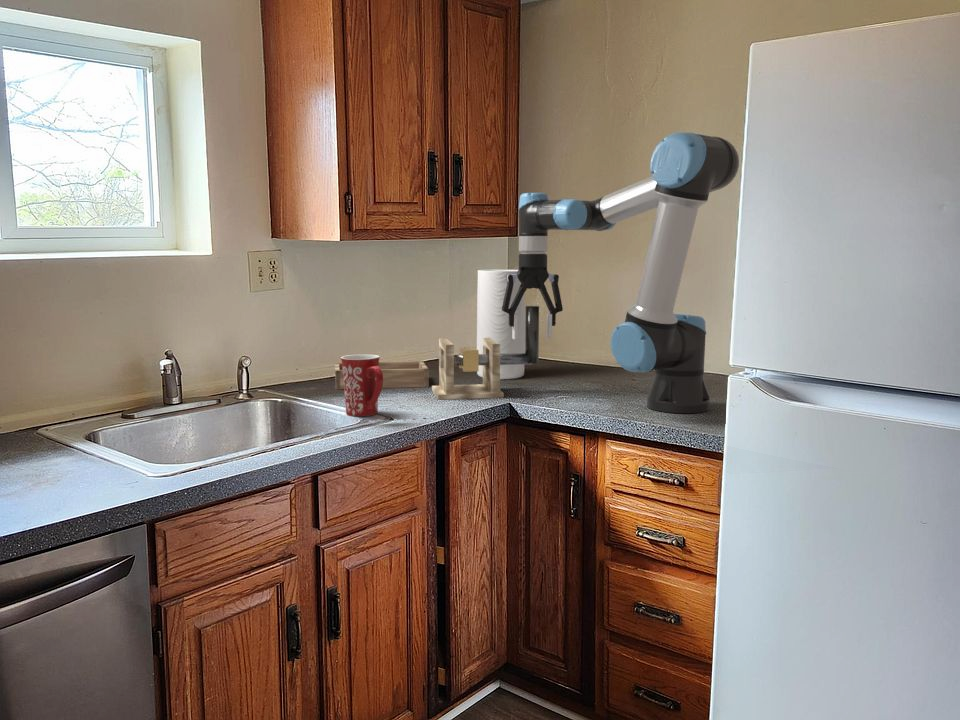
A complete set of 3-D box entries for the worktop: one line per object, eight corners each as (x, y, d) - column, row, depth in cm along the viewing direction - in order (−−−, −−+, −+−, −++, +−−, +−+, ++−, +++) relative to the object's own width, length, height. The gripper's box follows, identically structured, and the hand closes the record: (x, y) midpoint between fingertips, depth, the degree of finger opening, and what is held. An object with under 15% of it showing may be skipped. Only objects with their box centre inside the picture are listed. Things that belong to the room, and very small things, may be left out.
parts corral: (428, 386, 234) (428, 368, 233) (335, 389, 229) (335, 371, 229) (422, 377, 249) (422, 361, 248) (335, 380, 244) (334, 363, 244)
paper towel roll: (511, 381, 242) (512, 271, 238) (468, 377, 249) (468, 270, 245) (532, 374, 255) (533, 270, 251) (490, 371, 262) (490, 269, 257)
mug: (334, 412, 198) (333, 356, 196) (368, 408, 204) (367, 352, 202) (362, 421, 188) (361, 362, 186) (396, 416, 194) (395, 358, 192)
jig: (493, 388, 232) (493, 337, 230) (503, 397, 218) (504, 343, 216) (431, 390, 229) (431, 338, 227) (438, 399, 215) (438, 345, 213)
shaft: (536, 363, 227) (537, 305, 225) (539, 365, 224) (540, 306, 222) (441, 365, 223) (441, 306, 221) (443, 367, 219) (443, 307, 217)
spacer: (478, 371, 219) (478, 350, 219) (463, 371, 219) (463, 350, 218) (474, 367, 226) (474, 347, 225) (459, 367, 225) (459, 347, 225)
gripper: (568, 252, 227) (567, 336, 230) (490, 252, 223) (489, 337, 226) (576, 253, 219) (574, 339, 222) (495, 253, 216) (495, 341, 219)
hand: (531, 338), depth 224 cm, fingers open, 9 cm apart
